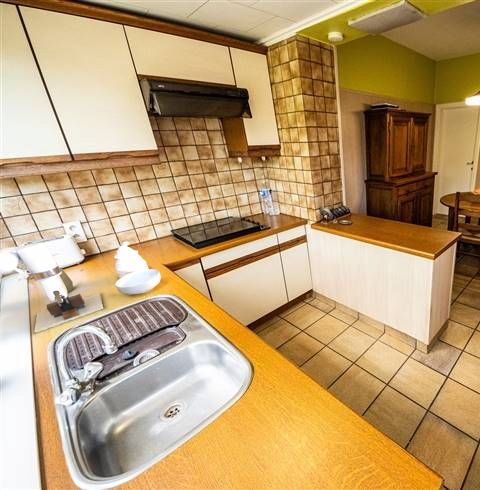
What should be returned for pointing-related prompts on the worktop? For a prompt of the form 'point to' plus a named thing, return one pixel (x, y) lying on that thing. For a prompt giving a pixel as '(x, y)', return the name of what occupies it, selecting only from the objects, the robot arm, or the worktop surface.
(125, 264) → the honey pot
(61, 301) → the robot arm
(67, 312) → the cork block
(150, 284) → the cereal bowl
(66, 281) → the squeeze bottle
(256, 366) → the worktop surface
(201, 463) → the worktop surface
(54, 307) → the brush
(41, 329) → the board
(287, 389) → the worktop surface
